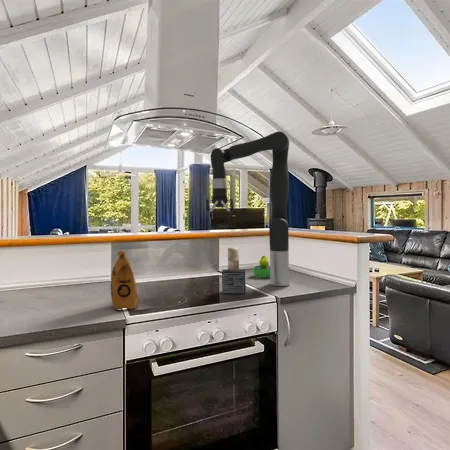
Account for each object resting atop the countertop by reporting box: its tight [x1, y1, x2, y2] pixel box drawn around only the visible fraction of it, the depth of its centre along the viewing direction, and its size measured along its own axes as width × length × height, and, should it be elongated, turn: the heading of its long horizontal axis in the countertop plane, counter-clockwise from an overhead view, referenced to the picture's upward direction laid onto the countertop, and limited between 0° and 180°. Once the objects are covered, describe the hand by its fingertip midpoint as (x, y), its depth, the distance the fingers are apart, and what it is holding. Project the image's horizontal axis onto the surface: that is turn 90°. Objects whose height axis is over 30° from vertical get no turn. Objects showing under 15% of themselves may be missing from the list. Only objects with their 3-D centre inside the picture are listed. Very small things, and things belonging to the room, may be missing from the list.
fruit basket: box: [252, 255, 270, 279], centre depth 180 cm, size 11×9×11 cm
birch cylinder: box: [227, 247, 240, 271], centre depth 146 cm, size 5×5×10 cm
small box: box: [221, 268, 247, 295], centre depth 146 cm, size 11×6×10 cm, turn 85°
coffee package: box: [110, 250, 138, 310], centre depth 128 cm, size 10×12×22 cm
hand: (220, 218), depth 168 cm, fingers open, 8 cm apart
